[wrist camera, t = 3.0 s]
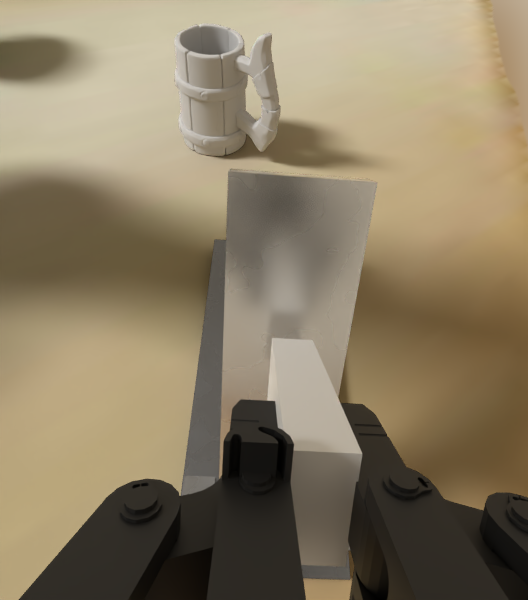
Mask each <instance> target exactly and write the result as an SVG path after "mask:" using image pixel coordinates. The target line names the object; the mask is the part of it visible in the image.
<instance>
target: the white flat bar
mask: <svg viewBox="0 0 528 600" xmlns="http://www.w3.org/2000/svg"><path fill="white" fill-rule="evenodd" d="M376 188H377V182H375V181H373V180H370V179H364V178H351V177H337V176H323V175H309V174H295V173H282V172H268V171H254V170H240V169H230V170H229V171H228V197H227V231H226V264H225V298H224V331H223V365H222V398H221V432H220V465H219V479H220V477H221V476H222V463H223V442H224V439H225V437H226V435H227V433H228V432H229V431H230V423H231V415H232V408H233V407H234V406H235V405H236V404H237V403H238V402H239V401H240V399H246V400H265V401H267V397H268V384H269V371H270V358H271V344H272V338H283V339H300V340H313V342H314V344H315V346H316V349H317V351H318V353H319V356H320V358H321V360H322V362H323V365H324V367H325V369H326V372H327V374H328V376H329V378H330V381H331V383H332V385H333V388H334V390H335V392H336V394H337V397H338V396H339V391H340V385H341V380H342V374H343V369H344V363H345V358H346V352H347V347H348V341H349V336H350V330H351V325H352V319H353V314H354V308H355V303H356V297H357V292H358V286H359V281H360V275H361V270H362V265H363V259H364V254H365V248H366V243H367V237H368V232H369V226H370V221H371V215H372V210H373V204H374V199H375V193H376Z"/></svg>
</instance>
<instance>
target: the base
mask: <svg viewBox="0 0 528 600" xmlns="http://www.w3.org/2000/svg"><path fill="white" fill-rule="evenodd" d="M225 264H226V240H216V239H215V241H214V249H213V256H212V264H211V271H210V279H209V287H208V294H207V302H206V309H205V317H204V324H203V332H202V339H201V347H200V354H199V362H198V370H197V377H196V385H195V392H194V400H193V407H192V415H191V422H190V430H189V438H188V445H187V453H186V460H185V468H184V475H183V483H182V490H181V496H182V495H187V494H192V493H195V492H199V491H202V490H204V489H206V488H208V487H210V486H212V485H213V484H214V483H215V482H217V481H218V480H219V465H220V432H221V398H222V365H223V331H224V298H225ZM348 550H350V547H349V549H348ZM301 567H302V574H303V578H315V579H345V580H350V567H349V553H348V556H347V563H346V567H342V566H314V565H301Z"/></svg>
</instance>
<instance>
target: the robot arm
mask: <svg viewBox="0 0 528 600" xmlns="http://www.w3.org/2000/svg"><path fill="white" fill-rule="evenodd" d="M349 547H350V550H351V554H352V558H353V561H354V565H355V566H354V573H353V580H352V586H351V593H350V599H349V600H528V498H527V497H524V496H521V495H517V494H512V493H495V494H492V495H490V496H488V498H487V501H486V503H485V507H484V511H483V510H479V509H476V508H472V507H468V506H465V505H461V504H457V503H454V502H451V501H448V500H445V499H443V497H442V496H441V494H440V493H439V491H438V490H437V488H436V487H435V486H434V485H433V484H432V483H431V481H430V480H429V479H428V478H426V477H425V476H423V475H422V474H420V473H419V472H417V471H415V470H412V469H410V468H407V467H406V466H405V464H404V463H403V461H402V459H401V458H400V456H399V454H398V452H397V451H396V449H395V447H394V446H393V444H392V442H391V440H390V439H389V437H387V434H386V432H385V430H384V429H383V427H382V425H381V423H380V422H379V420H378V418H377V417H376V415H375V414H374V413H373V412H372V411H371V410H369V409H368V408H367V407H365V406H364V405H363V404H349V403H340V401H339V399H338V397H337V394H336V392H335V390H334V388H333V385H332V383H331V381H330V378H329V376H328V374H327V372H326V369H325V367H324V365H323V362H322V360H321V358H320V356H319V353H318V351H317V349H316V346H315V344H314V342H313V340H300V339H283V338H272V344H271V358H270V371H269V384H268V397H267V401H265V400H246V399H240V401H239V402H238V403H237V404H236V405H235V406H234V407H233V408H232V415H231V423H230V431H229V432H228V433H227V435H226V437H225V439H224V442H223V463H222V476H221V477H220V479H219V480H218V481H217V482H215V483H214V484H213V485H212V486H210V487H208V488H206V489H204V490H202V491H199V492H195V493H192V494H187V495H182V496H179V492H178V491H177V490H176V489H175V488H174V487H173V486H172V485H171V484H169V483H166V482H164V481H162V480H155V479H143V480H138V481H132V482H130V483H128V484H126V485H123V486H121V487H119V488H117V489H116V490H115V491H114V492H113V493H112V494H110V495H109V496H108V497H107V498H106V499H105V500H104V501H103V503H102V504H101V505H100V506H99V507H98V508H97V510H96V511H95V512H94V513H93V514H92V515H91V516H90V518H89V519H88V520H87V521H86V522H85V523H84V525H83V526H82V527H81V528H80V529H79V530H78V532H77V533H76V534H75V535H74V536H73V537H72V539H71V540H70V541H69V542H68V543H67V544H66V545H65V547H64V548H63V549H62V550H61V551H60V552H59V554H58V555H57V556H56V557H55V558H54V559H53V561H52V562H51V563H50V564H49V565H48V566H47V568H46V569H45V570H44V571H43V572H42V573H41V574H40V576H39V577H38V578H37V579H36V580H35V581H34V583H33V584H32V585H31V586H30V587H29V588H28V590H27V591H26V592H25V593H24V594H23V595H22V597H21V598H20V599H19V600H306V597H305V590H304V582H303V574H302V567H301V565H314V566H342V567H346V563H347V556H348V549H349Z"/></svg>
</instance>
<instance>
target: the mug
mask: <svg viewBox="0 0 528 600" xmlns="http://www.w3.org/2000/svg"><path fill="white" fill-rule="evenodd" d="M271 41H272V34H271V33H266V34H263V35H261V36H259V37H258V38H257V40H256V42H255V43H254V45H253V47H252V49H251V54H250V58H249V57H247V56H245V51H244V40H243V38H242V36H241V35H240V34H239V33H238V32H236V31H235V30H233V29H231V28H228V27H224V26H221V25H216V24H200V25H199V26H198V25H193V26H191V27H189V28H188V29H186V30H183V31H180V32H179V33H178V34H177V35H176V36H175V53H176V65H177V68H176V70H175V84H176V86H177V87H178V89H179V96H180V107H181V113H180V115H179V129H180V132H181V134H182V135H183V137H184V140H185V143H186V145H187V146H188V147H189V148H190V149H192V150H193V151H194V150H195V151H196V152H197V153H200V154H203V155H210V156H224V155H225V154H226V155H228V154H231V153H233V152H235V151H237V150H239V149H240V148H241V147H242V146H243V144H244V143H245V139H246V134H248V135H249V136H250V138H251V139H252V140H253V142H254V144H255V146H256V147H257V148H258V150H259V151H261V152H263V151H264V150H265V149H266V148H267V147H268V145H269V143H271V142H272V141H273V140H274V139H275V137H276V135H277V131H278V128H277V127H278V123H279V117H280V105H279V96H278V91H277V84H276V79H275V73H274V65H273V62H272V54H271ZM248 75H250V76H251V77H252V78H253V79H252V81H253V83H254V85H255V88H256V91H257V93H258V95H259V96H260V97H261V100H262V105H261V107H262V112H261V117H260V118H259V120H257V121H256V120H255V119H254V118H253V117H252V116H251V115H250V114H249V113H248V112H246V102H245V89H246V87H247V81H248Z"/></svg>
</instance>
